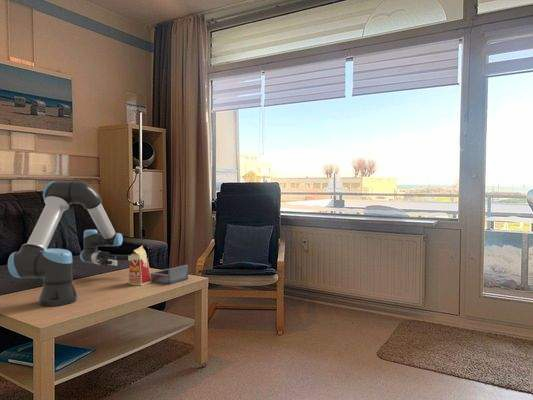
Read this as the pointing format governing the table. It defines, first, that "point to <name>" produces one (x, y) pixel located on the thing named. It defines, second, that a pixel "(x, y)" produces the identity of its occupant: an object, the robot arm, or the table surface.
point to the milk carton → (139, 268)
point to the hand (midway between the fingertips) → (126, 261)
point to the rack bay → (170, 275)
